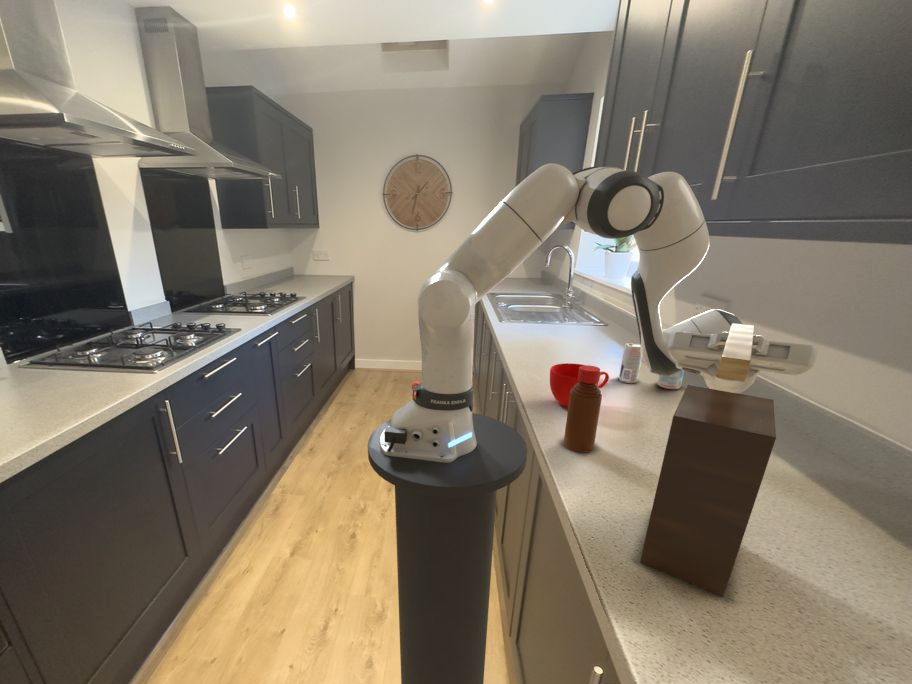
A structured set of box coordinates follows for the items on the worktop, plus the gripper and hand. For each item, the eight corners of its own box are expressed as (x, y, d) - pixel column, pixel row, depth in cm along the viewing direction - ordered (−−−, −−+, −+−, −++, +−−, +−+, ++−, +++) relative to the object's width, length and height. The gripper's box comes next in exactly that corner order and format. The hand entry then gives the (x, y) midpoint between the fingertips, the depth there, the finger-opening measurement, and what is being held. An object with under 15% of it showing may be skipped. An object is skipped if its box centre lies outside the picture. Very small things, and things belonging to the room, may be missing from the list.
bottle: (568, 452, 91) (578, 376, 85) (560, 438, 97) (569, 366, 91) (598, 452, 91) (610, 376, 85) (587, 438, 97) (598, 366, 91)
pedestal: (657, 514, 71) (687, 384, 63) (729, 539, 65) (773, 399, 57) (639, 562, 61) (673, 415, 53) (723, 596, 55) (776, 437, 47)
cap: (594, 377, 90) (596, 365, 89) (601, 383, 87) (603, 371, 86) (575, 377, 91) (576, 365, 90) (581, 383, 87) (582, 371, 86)
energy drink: (627, 377, 136) (634, 342, 132) (641, 382, 131) (648, 346, 127) (614, 379, 135) (620, 343, 130) (628, 384, 130) (634, 347, 126)
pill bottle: (668, 382, 131) (676, 348, 127) (685, 388, 125) (693, 353, 121) (652, 384, 130) (659, 349, 126) (668, 390, 124) (676, 355, 120)
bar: (727, 339, 73) (732, 323, 72) (749, 342, 72) (754, 325, 71) (716, 377, 56) (721, 356, 55) (744, 382, 54) (750, 360, 53)
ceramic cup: (618, 409, 112) (625, 375, 109) (561, 414, 110) (565, 379, 106) (591, 392, 124) (595, 361, 121) (538, 396, 122) (541, 364, 118)
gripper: (803, 387, 72) (823, 367, 61) (666, 366, 84) (663, 347, 73) (811, 353, 72) (833, 327, 61) (674, 337, 84) (672, 313, 73)
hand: (739, 338), depth 67 cm, fingers closed on bar, 3 cm apart
